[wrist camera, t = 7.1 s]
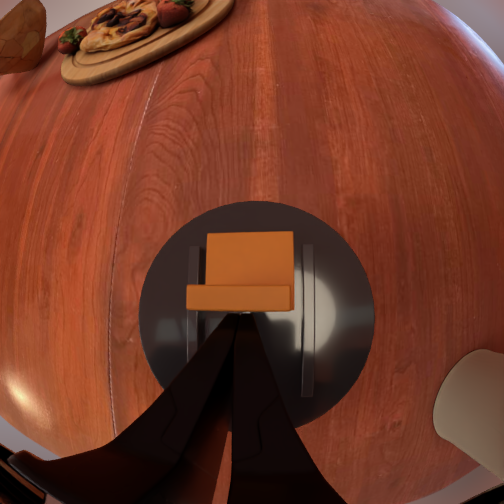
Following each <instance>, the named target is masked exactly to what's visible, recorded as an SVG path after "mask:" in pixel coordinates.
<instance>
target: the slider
mask: <svg viewBox="0 0 504 504" xmlns="http://www.w3.org/2000/svg"><path fill="white" fill-rule="evenodd" d="M186 308H187V309H188V310H200V311H234V312H289V311H291V310H294V240H293V231H276V232H234V233H208V234H207V253H206V284H205V285H196V284H189V285H187V298H186Z"/></svg>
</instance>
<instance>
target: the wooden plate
mask: <svg viewBox="0 0 504 504" xmlns="http://www.w3.org/2000/svg"><path fill="white" fill-rule="evenodd" d="M234 1H235V0H130V1H129V0H125V1H123V2H121V3H120V4H118V5H117V6H115V7H114V8H112V7H110V8H107V9H104V10H103V11H101V12H99V13H98V15H97V17H95V18H93V19H92V22H91V26H90V27H89V28H88V29H87V30H86V29H85V28H83V27H71V28H68V29H66V30H65V31H63V32H62V33H61V34H60V36H59V38H58V51H59V52H60V53H62V54H66V55H65V57H64V59H63V62H62V65H61V76H62V78H63V80H64V81H65V82H66V83H68V84H70V85H74V86H88V85H94V84H98V83H101V82H104V81H107V80H110V79H113V78H116V77H119V76H121V75H124V74H126V73H129V72H131V71H134V70H136V69H138V68H141V67H143V66H145V65H147V64H149V63H151V62H153V61H155V60H157V59H159V58H161V57H163V56H165V55H167V54H169V53H171V52H173V51H174V50H176V49H178V48H180V47H182V46H184V45H186V44H188V43H189V42H191V41H193V40H194V39H196V38H197V37H199V36H201V35H202V34H204V33H205V32H207V31H208V30H210V29H211V28H212V27H214V26H215V25H216V24H218V23H219V22H220V21H221V20H222V19H223V18H224V17H225V16H226V15H227V14H228V13H229V12H230V10H231V8H232V6H233V4H234Z"/></svg>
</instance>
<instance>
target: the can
mask: <svg viewBox="0 0 504 504" xmlns="http://www.w3.org/2000/svg"><path fill="white" fill-rule="evenodd" d="M433 423H434V427H435V430H436V432H437V433H438V435H439V436H440V437H442V438H443V439H445V440H448V441H450V442H451V443H453V444H454V445H455V446H457V447H458V448H459V449H461V450H462V451H464V452H465V453H466V454H468V455H469V456H470V457H472V458H473V459H474V460H476V461H477V462H478V463H480V464H481V465H483V466H484V467H485V468H486V469H488V470H489V471H490V472H492V473H493V474H494V475H496V476H497V477H498V478H500V479H501V480H502V481H503V482H504V354H501V353H496V352H492V351H490V350H487V349H479V350H475V351H473V352H471V353H469V354H467V355H466V356H464V357H463V358H462V359H461V360H460V361H459V362H458V363H457V364H456V365H455V366H454V367H453V368H452V369H451V371H450V372H449V373H448V375H447V377H446V378H445V380H444V382H443V384H442V385H441V388H440V390H439V392H438V395H437V397H436V401H435V405H434V410H433Z"/></svg>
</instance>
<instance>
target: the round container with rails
mask: <svg viewBox="0 0 504 504" xmlns="http://www.w3.org/2000/svg"><path fill="white" fill-rule="evenodd" d="M276 231H293V240H294V310H291V311H289V312H234V311H200V310H188V309H187V308H186V298H187V285H189V284H196V285H205V284H206V253H207V234H208V233H234V232H276ZM228 313H239V314H240V315H241V314H242V313H252V314H253V315H254V318H255V321H256V324H257V327H258V330H259V333H260V336H261V339H262V342H263V345H264V348H265V351H266V354H267V357H268V360H269V362H270V365H271V368H272V371H273V374H274V377H275V380H276V383H277V385H278V388H279V391H280V396H282V399H283V402H284V405H285V408H286V410H287V413H288V415H289V417H290V420H291V422H292V424H293V426H294V428H297V427H300V426H302V425H305V424H307V423H309V422H311V421H313V420H315V419H316V418H318V417H320V416H321V415H323V414H325V413H326V412H327V411H328V410H330V409H331V408H332V407H333V406H335V405H336V404H337V403H338V402H339V401H340V400H341V399H342V398H343V397H344V396H345V395H346V394H347V393H348V391H349V390H350V389H351V387H352V386H353V385H354V383H355V382H356V380H357V379H358V377H359V375H360V373H361V371H362V370H363V368H364V366H365V363H366V361H367V358H368V355H369V352H370V349H371V345H372V340H373V335H374V324H375V312H374V301H373V296H372V291H371V287H370V284H369V281H368V278H367V275H366V273H365V270H364V268H363V266H362V265H361V263H360V261H359V259H358V257H357V256H356V254H355V253H354V251H353V250H352V249H351V247H350V246H349V244H348V243H347V242H346V241H345V240H344V239H343V238H342V237H341V236H340V235H339V234H338V233H337V232H336V231H335V230H334V229H332V228H331V227H330V226H329V225H327V224H326V223H325V222H323V221H322V220H320V219H318V218H317V217H315V216H313V215H312V214H310V213H307V212H305V211H303V210H301V209H298V208H295V207H292V206H288V205H285V204H281V203H275V202H268V201H247V202H237V203H232V204H228V205H224V206H220V207H218V208H215V209H212V210H210V211H207V212H205V213H203V214H202V215H200V216H198V217H196V218H194V219H193V220H191V221H190V222H188V223H187V224H185V225H184V226H183V227H181V228H180V229H179V230H178V231H177V232H176V233H175V234H174V235H173V236H172V237H171V238H170V239H169V240H168V241H167V242H166V243H165V245H164V246H163V247H162V248H161V250H160V251H159V253H158V254H157V256H156V257H155V259H154V261H153V263H152V265H151V267H150V269H149V271H148V273H147V275H146V278H145V281H144V284H143V287H142V292H141V297H140V303H139V332H140V338H141V343H142V347H143V351H144V354H145V357H146V360H147V362H148V364H149V366H150V369H151V371H152V373H153V374H154V376H155V378H156V379H157V381H158V382H159V384H160V385H161V387H162V388H163V389H164V390H165V389H166V388H167V387H169V384H170V383H171V382H172V381H173V379H174V378H175V377H176V376H177V375H178V373H179V372H180V371H181V370H182V369H183V367H184V366H185V365H186V364H187V362H188V361H189V360H190V359H191V358H192V356H193V355H194V354H195V353H196V352H197V350H198V349H199V348H200V347H201V345H202V344H203V343H204V342H205V340H206V339H207V338H208V337H209V336H210V334H211V333H212V332H213V331H214V329H215V328H216V327H217V326H218V324H219V323H220V322H221V321H222V319H223V318H224V317H225V316H226V315H227V314H228ZM228 431H230V432H232V415H231V420H230V424H229V429H228Z"/></svg>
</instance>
